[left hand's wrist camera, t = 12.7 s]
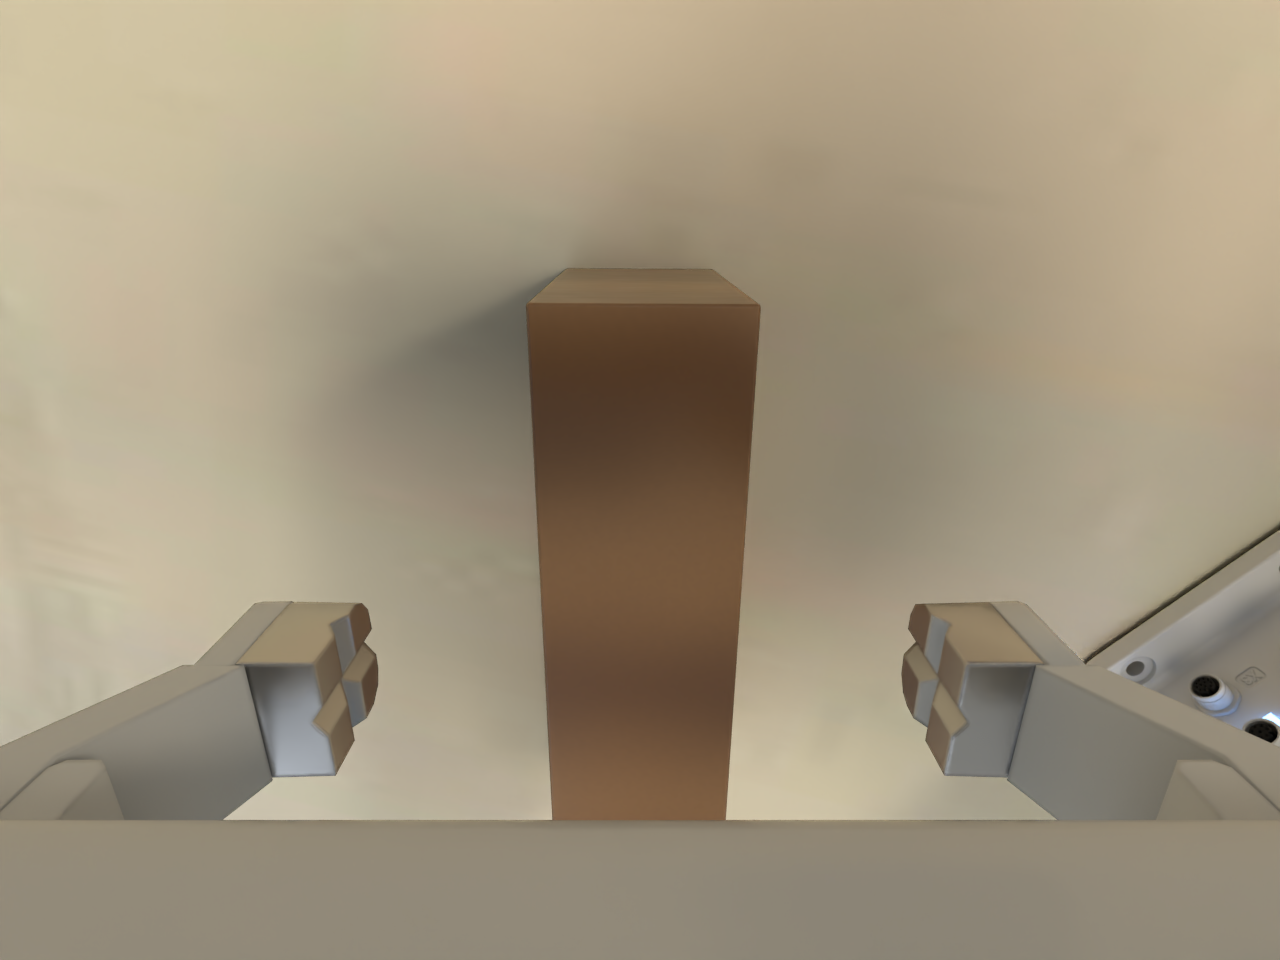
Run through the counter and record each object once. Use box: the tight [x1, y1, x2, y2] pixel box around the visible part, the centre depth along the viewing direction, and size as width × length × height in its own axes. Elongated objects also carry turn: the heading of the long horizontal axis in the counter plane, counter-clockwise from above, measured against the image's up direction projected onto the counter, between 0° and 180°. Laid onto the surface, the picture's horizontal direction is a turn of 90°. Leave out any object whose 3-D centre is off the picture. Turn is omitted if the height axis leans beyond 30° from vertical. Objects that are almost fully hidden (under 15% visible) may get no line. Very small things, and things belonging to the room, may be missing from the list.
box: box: [526, 268, 761, 820], centre depth 27 cm, size 23×6×11 cm, turn 0°
